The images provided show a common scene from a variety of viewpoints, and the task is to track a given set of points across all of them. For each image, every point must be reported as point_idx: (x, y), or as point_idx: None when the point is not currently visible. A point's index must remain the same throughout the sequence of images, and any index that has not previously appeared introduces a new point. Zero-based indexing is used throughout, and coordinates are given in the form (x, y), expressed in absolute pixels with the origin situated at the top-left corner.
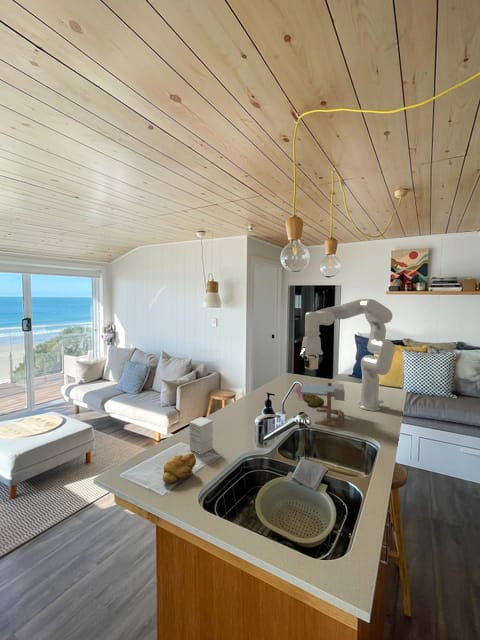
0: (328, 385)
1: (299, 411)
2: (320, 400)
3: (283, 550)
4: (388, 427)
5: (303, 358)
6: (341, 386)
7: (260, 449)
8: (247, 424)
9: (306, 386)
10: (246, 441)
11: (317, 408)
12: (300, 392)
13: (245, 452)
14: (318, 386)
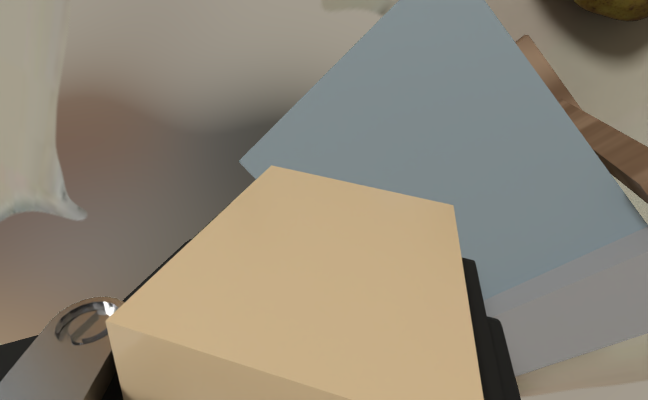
0: (629, 178)
1: (391, 3)
2: (624, 5)
3: None
4: (575, 372)
5: (18, 342)
6: (599, 331)
7: (68, 212)
8: (59, 17)
9: (394, 70)
10: (37, 150)
11: None
12: (241, 160)
13: (28, 201)
14: (503, 139)
